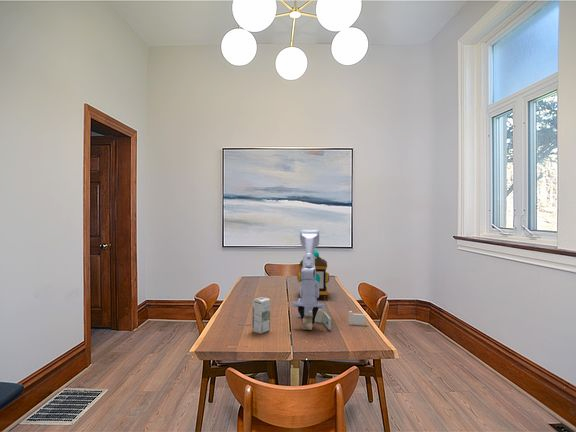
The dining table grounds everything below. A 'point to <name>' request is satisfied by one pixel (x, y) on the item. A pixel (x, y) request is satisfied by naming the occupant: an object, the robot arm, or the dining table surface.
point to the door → (326, 320)
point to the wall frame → (353, 318)
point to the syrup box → (261, 315)
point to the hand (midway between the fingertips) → (308, 323)
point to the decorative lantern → (318, 274)
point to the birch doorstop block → (307, 321)
